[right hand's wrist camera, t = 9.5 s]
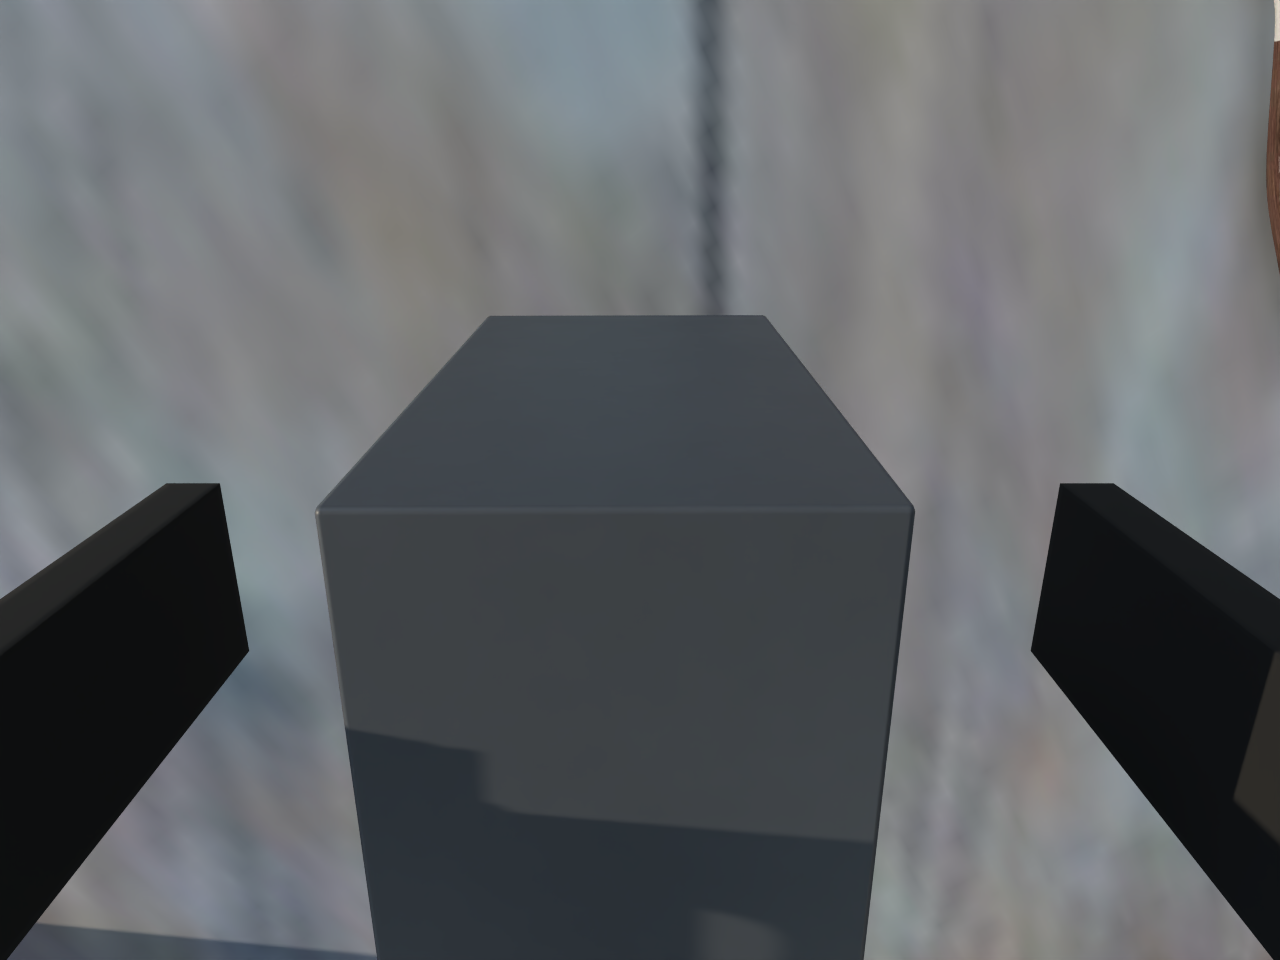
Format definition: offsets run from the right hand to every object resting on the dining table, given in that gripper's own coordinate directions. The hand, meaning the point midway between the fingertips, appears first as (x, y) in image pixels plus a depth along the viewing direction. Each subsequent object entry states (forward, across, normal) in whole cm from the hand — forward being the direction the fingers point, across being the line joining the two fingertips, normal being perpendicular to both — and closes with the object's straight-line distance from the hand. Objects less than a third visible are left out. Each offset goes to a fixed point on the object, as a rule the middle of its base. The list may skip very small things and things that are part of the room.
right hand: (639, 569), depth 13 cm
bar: (+3, 0, -9) cm, 9 cm away
